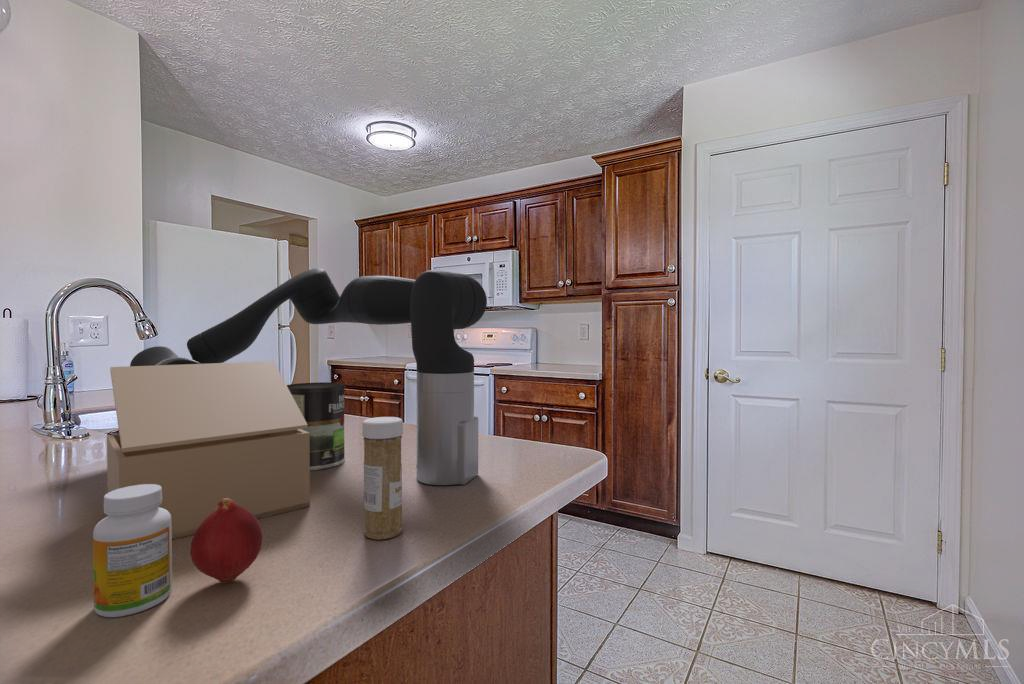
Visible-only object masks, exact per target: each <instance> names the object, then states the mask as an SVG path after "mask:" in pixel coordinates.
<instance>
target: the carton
mask: <svg viewBox="0 0 1024 684" xmlns="http://www.w3.org/2000/svg"><path fill="white" fill-rule="evenodd" d="M106 465H107V467H106V469H107V472H106V476H107V485H106V486H107V493H109V492H111V491H113V490H116V489H120V488H124V487H128V486H134V485H142V484H156V485H160V486H161V487H162V502H161V504H160V505H159V507H160V508H164V509H166V510H167V511H168V512H169V513H170V515H171V524H172V541H173V540H177V539H181V538H184V537H188V536H194V534H195V532H196V530H197V528H198V527H199V525H200V524H201V523H202V521H203V520H204V519H205V518H206V517H208V516H209V515H210V514H211V513H212V512H214V511H215V510H217V509H218V507H219V505H218V502H220V501H221V500H222V499H224V498H229V499H231V500H233V501H234V502H235V504H237V505H239V506H242V507H244V508H245V509H247V510H248V511H249V512H250V513H251V514H253V515H254V516H255V517H256V518H257V520H259V519H263V518H267V517H271V516H275V515H276V516H277V515H279V514H280V515H281V514H284V513H289V512H291V511H297V510H300V509H304V508H309V507H310V506H311V477H310V476H311V475H310V474H311V470H310V433H309V432H307V431H304V430H302V429H298V430H290V431H282V432H275V433H267V434H260V435H252V436H244V437H237V438H229V439H222V440H214V441H206V442H199V443H191V444H184V445H176V446H168V447H161V448H153V449H146V450H138V451H130V452H123V453H122V449H121V442H120V435H119V433H115V434H106Z"/></svg>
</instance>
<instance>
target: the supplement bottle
mask: <svg viewBox="0 0 1024 684" xmlns="http://www.w3.org/2000/svg"><path fill="white" fill-rule="evenodd" d="M161 502H162V487H161V486H160V485H156V484H142V485H134V486H128V487H124V488H120V489H116V490H113V491H111V492H109V493H108V492H107V493H105V495H104V496H103V513H104V514H105V515H107V516H106V517H104V518H103V519H101V520H99V522H97V523H96V524H95V526H94V528H93V532H92V555H93V556H92V559H93V560H92V561H93V563H92V564H93V565H92V566H93V567H92V568H93V570H92V571H93V574H92V576H93V605H94V606H93V608H94V609H93V610H94V612H95V613H96V614H97V615H99V616H101V617H105V618H119V617H120V618H121V617H126V615H127V616H130V615H134V614H137V613H140V612H143V611H146V610H148V609H151V608H153V607H155V606H156V605H159V604H160V603H162V602H163V601H164V600H166V599H168V597H169V596H170V595H171V592H172V590H173V551H172V550H173V547H172V545H173V543H172V541H173V540H172V524H171V515H170V513H169V512H168V511H167V510H166V509H164V508H160V507H159V505H160V504H161Z"/></svg>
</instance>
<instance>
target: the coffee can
mask: <svg viewBox="0 0 1024 684" xmlns="http://www.w3.org/2000/svg"><path fill="white" fill-rule="evenodd" d="M286 385H287V387H288V389H289V391H290V393H291V395H292V396H293V398H294V400H295V402H296V404H297V406H298V408H299V410H300V411H301V413H302V415H303V417H304V419H305V421H306V423H307V424H308V425H307V428H305V429H302V430H304V431H307V432H309V433H310V471H318V470H326V469H327V470H328V469H330V468H334V467H337V466H340V465H342V464H344V462H345V461H346V459H345V388H346V384H345V383H342V382H341V383H340V382H327V381H326V382H322V381H321V382H300V383H291V384H286Z"/></svg>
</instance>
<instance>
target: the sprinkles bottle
mask: <svg viewBox="0 0 1024 684" xmlns="http://www.w3.org/2000/svg"><path fill="white" fill-rule="evenodd" d="M403 424H404V421H403V419H402V418H401V417H397V416H378V417H376V416H375V417H371V418H367V419H364V420H363V422H362V437H363V442H364V443H363V451H364V453H363V455H364V456H363V507H364V529H363V535H364V536H365V537H366V538H368V539H372V540H377V541H378V540H387V539H388V540H389V539H392V538H394V537H396V536H398V535H399V534H401V532H402V531H403V529H404V525H403V516H402V513H403V511H402V509H403V508H402V507H403V506H402V503H403V475H402V474H403V469H402V468H403V467H402V465H403V464H402V437H403V434H404V425H403Z"/></svg>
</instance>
